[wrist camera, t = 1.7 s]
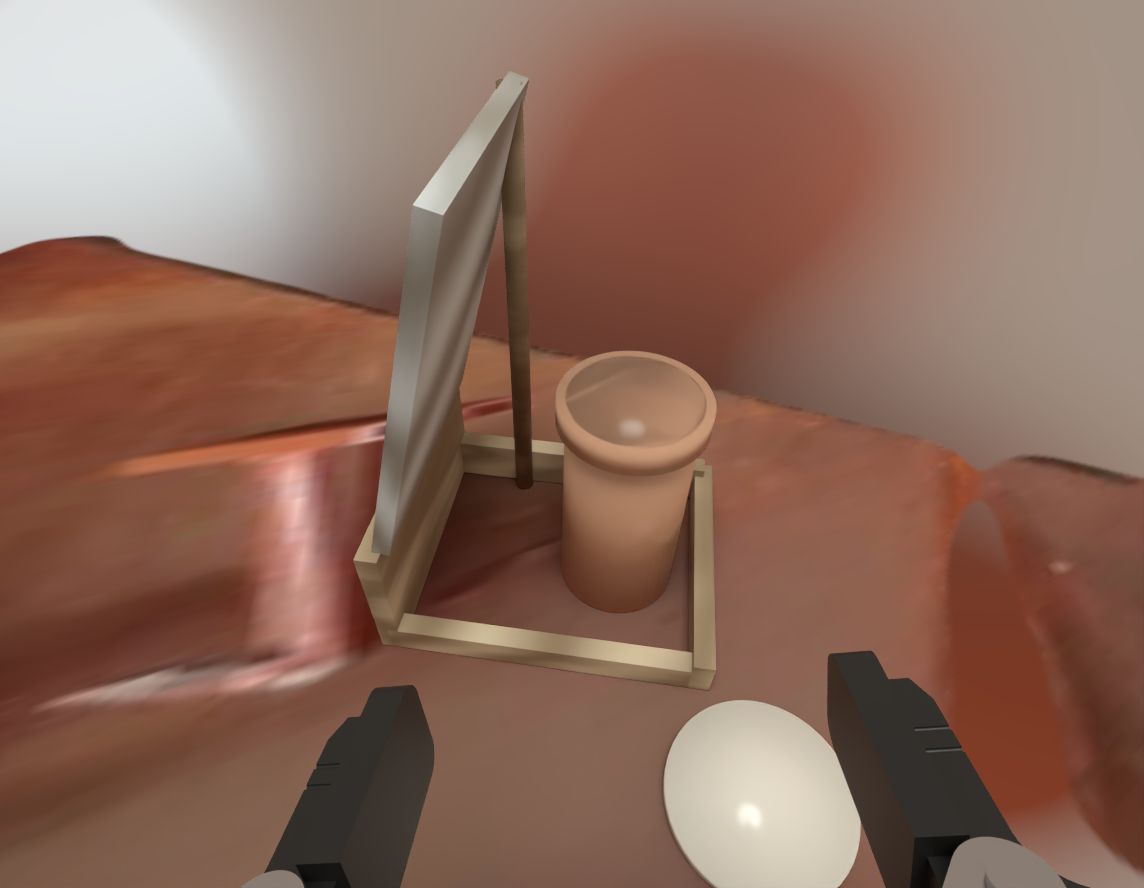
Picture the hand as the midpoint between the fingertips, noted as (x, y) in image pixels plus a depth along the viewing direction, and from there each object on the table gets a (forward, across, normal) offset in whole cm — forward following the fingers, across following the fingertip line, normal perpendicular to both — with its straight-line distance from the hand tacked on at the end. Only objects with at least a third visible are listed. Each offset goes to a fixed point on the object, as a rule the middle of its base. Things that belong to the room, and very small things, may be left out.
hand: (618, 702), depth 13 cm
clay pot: (+21, +1, +11) cm, 24 cm away
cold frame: (+21, +4, +10) cm, 24 cm away
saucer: (+10, -4, +16) cm, 19 cm away
